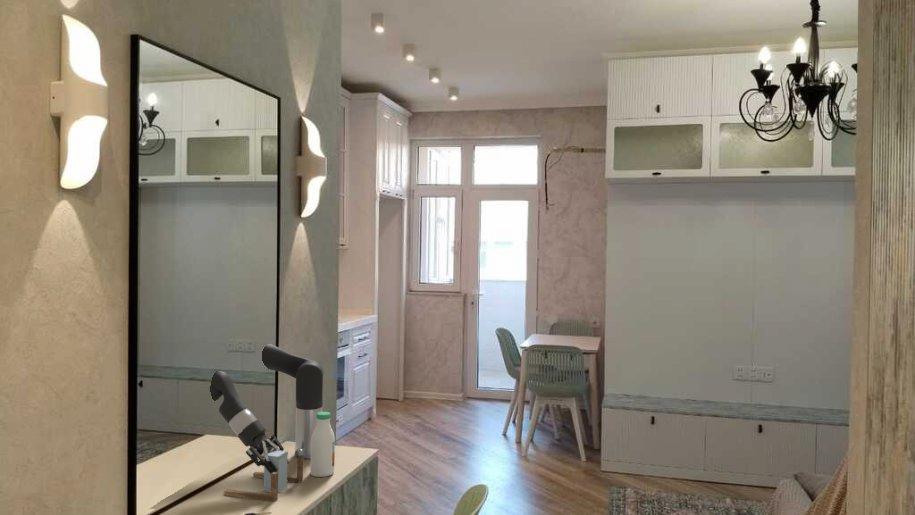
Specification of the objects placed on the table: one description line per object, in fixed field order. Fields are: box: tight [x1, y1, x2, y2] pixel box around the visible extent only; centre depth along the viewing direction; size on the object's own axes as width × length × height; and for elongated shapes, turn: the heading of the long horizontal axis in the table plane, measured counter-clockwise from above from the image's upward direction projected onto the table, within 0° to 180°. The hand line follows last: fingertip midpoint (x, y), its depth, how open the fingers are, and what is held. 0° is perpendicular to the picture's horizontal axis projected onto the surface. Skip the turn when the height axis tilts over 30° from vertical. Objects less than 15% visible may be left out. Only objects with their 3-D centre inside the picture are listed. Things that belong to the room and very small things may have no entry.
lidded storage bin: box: [263, 450, 289, 494], centre depth 202 cm, size 5×5×11 cm
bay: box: [223, 456, 304, 502], centre depth 203 cm, size 18×17×8 cm
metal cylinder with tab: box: [294, 441, 306, 459], centre depth 209 cm, size 4×2×4 cm, turn 166°
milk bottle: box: [309, 411, 336, 478], centre depth 216 cm, size 8×8×20 cm
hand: (280, 468), depth 201 cm, fingers open, 6 cm apart
